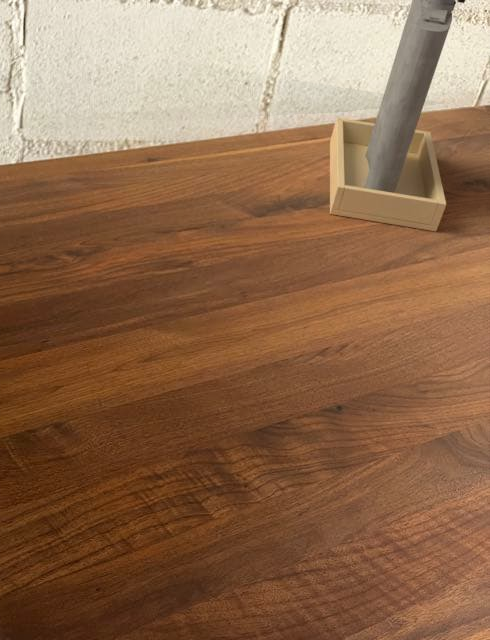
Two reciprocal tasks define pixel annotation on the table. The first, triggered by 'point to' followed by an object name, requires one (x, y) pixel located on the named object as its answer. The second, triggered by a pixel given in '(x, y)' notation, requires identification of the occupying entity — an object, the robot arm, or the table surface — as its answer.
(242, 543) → the table surface
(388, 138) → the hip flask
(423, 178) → the tray
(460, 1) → the robot arm
